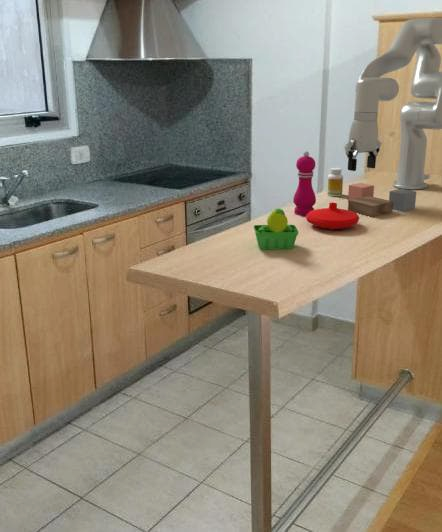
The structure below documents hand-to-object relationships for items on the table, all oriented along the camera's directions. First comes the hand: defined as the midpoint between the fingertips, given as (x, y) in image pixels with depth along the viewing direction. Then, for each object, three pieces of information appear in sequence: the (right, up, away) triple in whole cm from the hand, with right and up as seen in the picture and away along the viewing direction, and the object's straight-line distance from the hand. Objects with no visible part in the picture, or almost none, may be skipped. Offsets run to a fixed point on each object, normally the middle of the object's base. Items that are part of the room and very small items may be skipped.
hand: (361, 169), depth 204 cm
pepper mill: (-21, -16, -9) cm, 28 cm away
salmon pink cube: (+1, -11, +4) cm, 12 cm away
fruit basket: (-33, -28, -43) cm, 61 cm away
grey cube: (+12, -14, -5) cm, 19 cm away
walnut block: (+1, -16, -8) cm, 18 cm away
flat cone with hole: (-14, -21, -24) cm, 35 cm away
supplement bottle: (-6, -7, +15) cm, 18 cm away
